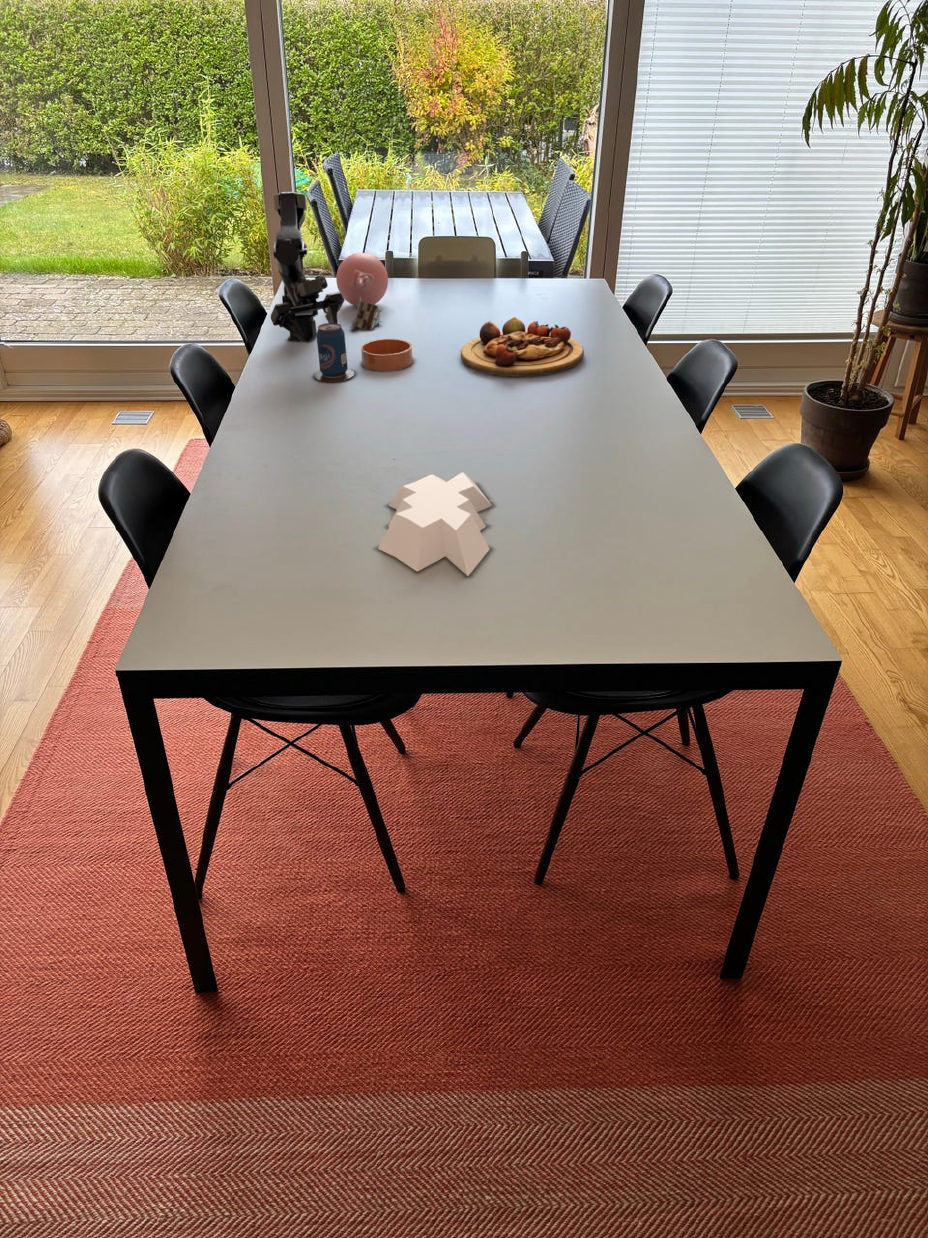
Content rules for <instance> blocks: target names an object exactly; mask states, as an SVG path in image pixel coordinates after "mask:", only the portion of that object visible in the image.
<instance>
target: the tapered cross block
mask: <svg viewBox="0 0 928 1238" xmlns="http://www.w3.org/2000/svg"><path fill="white" fill-rule="evenodd" d="M492 506H493V505H492V503H490V501H489V500H488V498H487V497H486V496H485V495H484V493H483V492H482V491H481V489H480V488H479V487H478V485H477V484H476V483H475V482H474V481H473V480H471V478H470V477H469V476H468V475H467V474H466V473H465V472H464V471H462V472H460V473H458V474H457V475H455V476H454V477H453V478H451V479H449V480H448V481H445V480H444V479H442V478H441V477H438V476H436V475H434V474H433V473H431V474H428V475H427V476H424V477H423V478H420V479H418V480H416V481H414V482H409V483H407V484H405V485H402V486H401V488H400V489H399V490H398V492H397V493H396V495H395V496H394V497H393V499H392V500H391V502H390V503H389V504H388V507H390V508H392V509H394V510H396V511H395V513H394V515H393V517H392V518H391V520H390V522H389V523H388V525H387V527H388V528H387V531H386V532H385V534H384V536H383V538H382V540H381V542H380V543H379V545H378V547H377V550H379V551H381V552H384V553H386V554H387V555H389V556H392V557H394V558H396V559H398V560H399V561H401V563H403V564H405V565H406V566H408V567H409V568H411V569H412V570H413V571H415V572H419V571H421V570H423V569H425V568H427V567H429V566H431V565H432V564H434V563H436V562H438V561H439V560H441V559H443V558H446V559H447V560H449V562H451V563H453V565H454V566H456V568H458V569H459V570H460V571H461V572H462V573H463V574H464V575H466V576H467V577H469V576H470V574H471V573H472V572H473V571H474V570H475V568H477V566H478V565H479V564H480V562H481V561H482V560H483V558H484V557H485V556H486V555H487V554H488V552H489V551H490V550H491V549H490V547H489V545H488V543H487V541H486V540H485V537H484V535H483V533H482V532H481V531H482V530H484V529H486V528H487V526H486V523H484V521H483V519H482V517H481V516H480V515H479V512H481V511H483V510H486V509H488V508H491V507H492Z"/></svg>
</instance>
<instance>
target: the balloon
mask: <svg viewBox="0 0 928 1238" xmlns="http://www.w3.org/2000/svg"><path fill="white" fill-rule="evenodd" d="M335 276H336V278H335V279H336V281H335V282H336V286H337V290H338V292H339V293H341V294H342V295H343V297H344V300H345V301H346V302H347V303H349V304H350V305H352V306H355V307H358V304H359V301H360V297H361V299H362V300H363V302H365V303H369V304H373V305H376V304H377V303H379V302H380V301H381V300H382V299H383V298H384V296H385V294H386V292H387V290H388V286H389V275H388V272H387V269H386V267H385V265H384V264H383V263H382V261H381V260H380V259H379V258H378V257H376V256H375V255H373V254H371V253H368V252H356V253H355V252H354V253H352V254H350V255H348V256H347V257H345V258H344V259H343V260H342V262H341V263H340V264H339V266H338V268H337V272H336V275H335Z"/></svg>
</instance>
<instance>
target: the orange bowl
mask: <svg viewBox="0 0 928 1238" xmlns="http://www.w3.org/2000/svg"><path fill="white" fill-rule="evenodd" d="M412 348H413V346H412V344H411V342H409V341H407V340H403V339H399V338H398V339H397V338H381V339H375V340H370V341H368V342H365V343H363V345H361V346H360V352H361V363H362V364H361V365H362V366H363V367H364V368H365V369H367V370H369V371H375V372H393V371H394V372H395V371H399V370H404V369H406V368H408V367H410V366H411V365H412V364H413V349H412Z"/></svg>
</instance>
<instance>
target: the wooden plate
mask: <svg viewBox="0 0 928 1238" xmlns="http://www.w3.org/2000/svg"><path fill="white" fill-rule="evenodd" d="M571 335H572V332H571V330H570V328H568V327H567V326H562V327H559V326H558V324H554V327H553V326H551V327H549V323H547V324H540V325H539V321H538V320H536V321H533V322H530V323H529V324H528V326H527V329H526V325H525V324H524V322H523V321H522V320H520V319H519V318H517V317H515V316H513V317H511V318H510V319H508V320H507V321H505V323H504V324H503V326H502V328H501V330H500V328H499V327H498V325H496V324H495V322H493V321H491V320H489V321H487V322H485V323H483V325H482V326H481V327H480V329H479V336H478V337H476V338H475V337H474V338H473V339H471V340H469V341H468V342H466V343H465V344H464V345H463V346H462V347H461V350H460V358H461V361H462V362H463V363H464V364H465V365H467V366H468V367H470V368H471V369H474V370H476V371H479V372H482V373H486V374H490V375H498V376H506V377H535V376H545V375H550V374H554V373H559V372H562V371H565V370H568V369H571V368H573V367H574V366H576V365H578V364H579V363H580V362H581V361H582V360H583V358H584V355H585V350H584V347H583V346H582V344H581V343H580V342H579V341H578V340H576V339H574V338H572V337H571Z"/></svg>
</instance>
